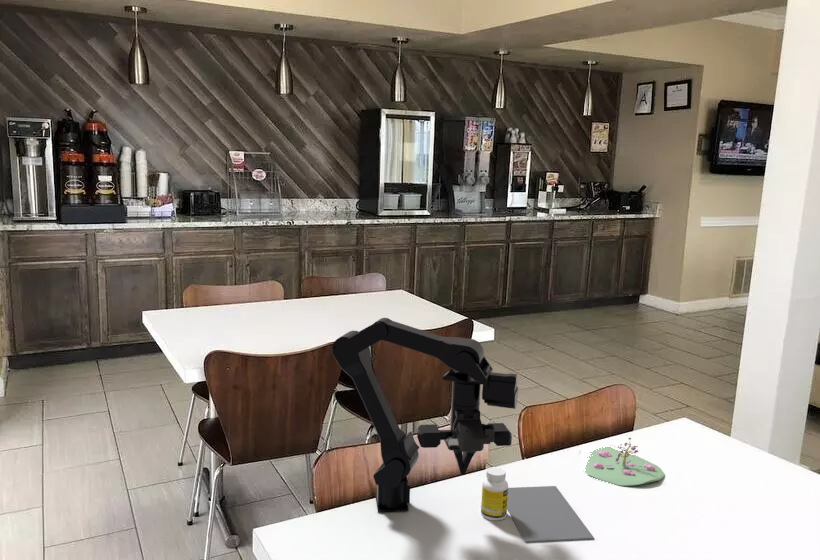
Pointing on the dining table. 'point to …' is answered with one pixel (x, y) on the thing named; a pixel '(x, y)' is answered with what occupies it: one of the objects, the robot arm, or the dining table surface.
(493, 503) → the supplement bottle
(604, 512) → the dining table surface
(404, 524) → the dining table surface
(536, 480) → the dining table surface
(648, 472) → the plant
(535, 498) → the mat
